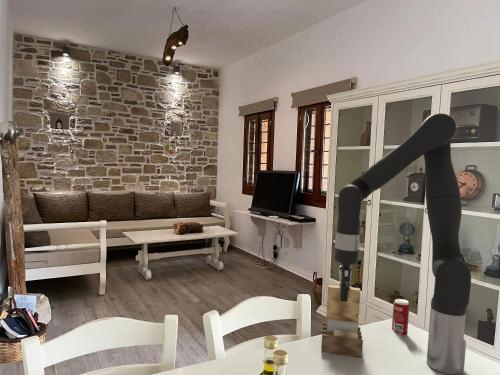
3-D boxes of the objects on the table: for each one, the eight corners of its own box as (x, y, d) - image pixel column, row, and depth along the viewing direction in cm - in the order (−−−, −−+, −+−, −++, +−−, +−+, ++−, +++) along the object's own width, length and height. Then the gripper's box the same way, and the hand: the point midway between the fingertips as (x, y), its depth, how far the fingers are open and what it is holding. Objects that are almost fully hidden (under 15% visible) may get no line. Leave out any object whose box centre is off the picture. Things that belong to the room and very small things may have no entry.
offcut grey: (355, 347, 118) (357, 322, 118) (355, 349, 116) (357, 324, 116) (326, 343, 120) (327, 318, 119) (326, 345, 118) (327, 321, 118)
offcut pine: (356, 351, 115) (357, 332, 115) (356, 354, 113) (357, 335, 113) (332, 348, 117) (334, 329, 116) (332, 351, 115) (334, 332, 114)
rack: (359, 346, 122) (360, 327, 121) (361, 362, 111) (363, 341, 111) (321, 341, 124) (322, 322, 124) (321, 356, 114) (322, 336, 114)
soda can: (396, 329, 137) (398, 297, 136) (410, 334, 133) (412, 301, 132) (388, 333, 133) (391, 300, 133) (402, 338, 129) (405, 304, 129)
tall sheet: (356, 342, 121) (359, 288, 120) (356, 345, 119) (360, 290, 118) (324, 338, 123) (328, 284, 122) (324, 341, 121) (328, 286, 120)
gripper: (360, 253, 112) (356, 306, 113) (357, 244, 126) (353, 291, 127) (335, 250, 113) (331, 302, 114) (334, 241, 127) (331, 288, 128)
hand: (343, 296), depth 120 cm, fingers open, 8 cm apart
